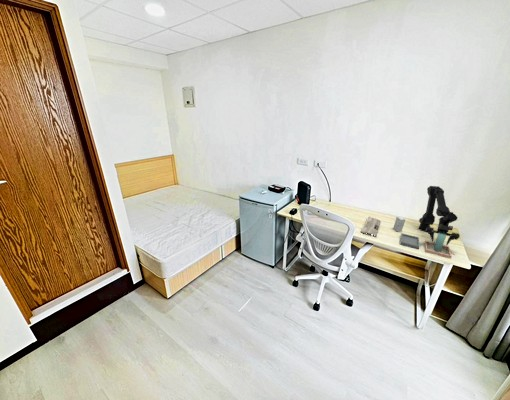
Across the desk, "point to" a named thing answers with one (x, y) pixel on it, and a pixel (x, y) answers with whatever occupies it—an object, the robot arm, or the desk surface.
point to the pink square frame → (437, 252)
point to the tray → (409, 241)
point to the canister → (439, 242)
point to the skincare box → (399, 224)
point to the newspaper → (371, 226)
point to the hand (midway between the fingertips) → (439, 243)
